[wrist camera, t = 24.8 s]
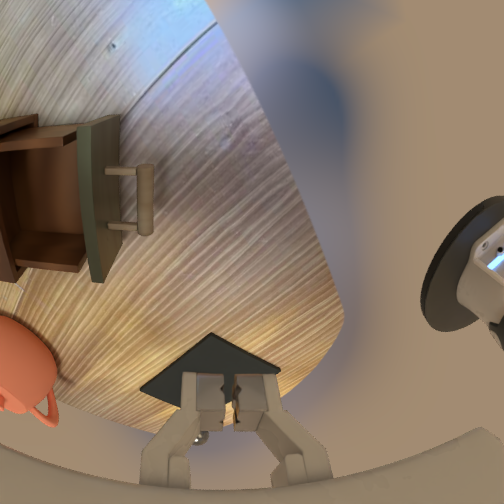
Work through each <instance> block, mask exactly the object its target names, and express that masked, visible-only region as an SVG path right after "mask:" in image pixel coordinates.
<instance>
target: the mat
mask: <svg viewBox="0 0 504 504" xmlns="http://www.w3.org/2000/svg"><path fill="white" fill-rule="evenodd" d="M183 372H196V373H211V374H223V375H224V389H223V393H224V394H225V404H227V403H229V402H231V401H232V386H233V385H234V376H235V374H275V375H276V374H278V373H279V372H281V369H280V368H278V367H276V366H274V365H272V364H270V363H268V362H266V361H264V360H262V359H260V358H258V357H256V356H254V355H252V354H250V353H248V352H246V351H245V350H243V349H241V348H239V347H237V346H235V345H233V344H231V343H229V342H228V341H226V340H224V339H222V338H220V337H218V336H217V335H215V334H213V333H210V334H208V335H207V336H206V337H205V338H203V339H202V340H201V341H200V342H199V343H197V344H196V345H195V346H194V347H192V348H191V349H190V350H188V351H187V352H186V353H185V354H183V355H182V356H181V357H180V358H178V359H177V360H176V361H175V362H173V363H172V364H171V365H169V366H168V367H167V368H166V369H164V370H163V371H162V372H160V373H159V374H158V375H157V376H155V377H154V378H153V379H151V380H150V381H149V382H147V383H146V384H145V385H144V386H142V387H141V388H140V391H141V392H144V393H146V394H148V395H150V396H153V397H155V398H157V399H160V400H162V401H165V402H167V403H170V404H172V405H175V406H177V407H180V408H181V388H182V374H183Z"/></svg>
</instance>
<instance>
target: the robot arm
mask: <svg viewBox="0 0 504 504" xmlns="http://www.w3.org/2000/svg"><path fill="white" fill-rule="evenodd" d="M457 300H458V302H459V303H460V304H461V305H463V306H464V307H466V308H468V309H469V310H470V311H472V312H473V313H474V314H475V315H476V316H478V317H479V318H480V319H481V320H482V321H483V322H484V323H485V324H486V325H487V326H488V327H489V330H490V333H491V335H492V336H493V338H494V339H495V340H496V342H497V343H498V345H499V346H500V348H502V349H503V350H504V218H503V219H502V220H500V221H499V222H498V223H497V224H496V225H495V226H493V227H492V228H491V229H490V230H489V231H488V232H486V233H485V234H484V235H483V236H481V237H480V238H479V239H478V240H477V241H475V243H474V244H473V246H472V248H471V252H470V256H469V261H468V263H467V265H466V267H465V269H464V271H463V273H462V275H461V277H460V280H459V283H458V287H457ZM223 389H224V375H223V374H211V373H196V372H183V374H182V388H181V409H180V410H176V411H175V412H174V413H173V415H172V416H171V417H170V418H169V419H168V421H167V422H166V423H165V424H164V425H163V427H162V428H161V429H160V430H159V431H158V433H157V434H156V435H155V436H154V437H153V438H152V440H151V441H150V442H149V443H148V444H147V446H146V447H145V448H144V449H143V450H142V454H141V467H140V482H139V484H134V483H128V482H123V481H117V480H112V479H107V478H102V477H98V476H94V475H90V474H85V473H82V472H78V471H74V470H71V469H67V468H64V467H61V466H57V465H54V464H51V463H48V462H45V461H42V460H40V459H37V458H34V457H32V456H29V455H26V454H23V453H21V452H19V451H16V450H14V449H12V448H9V447H7V446H5V445H3V444H1V443H0V504H504V445H503V443H502V442H501V440H500V439H499V438H498V437H496V436H495V435H494V434H492V433H491V432H489V431H488V430H486V429H484V428H482V427H478V428H475V429H473V430H471V431H469V432H467V433H465V434H463V435H461V436H459V437H457V438H455V439H453V440H451V441H448V442H446V443H444V444H441V445H439V446H437V447H434V448H432V449H430V450H427V451H424V452H422V453H419V454H417V455H414V456H411V457H408V458H406V459H403V460H400V461H397V462H394V463H391V464H387V465H385V466H381V467H378V468H375V469H371V470H367V471H363V472H359V473H355V474H351V475H347V476H342V477H338V478H333V475H332V471H331V467H330V463H329V459H328V455H327V451H326V448H324V446H323V445H321V444H320V443H319V442H318V441H317V440H316V439H315V438H314V437H313V436H312V435H311V434H310V433H309V432H308V431H307V430H306V429H305V428H304V427H303V426H302V425H301V424H300V423H299V422H298V421H297V420H296V419H295V418H294V417H293V416H292V415H291V414H290V413H289V412H288V411H287V410H283V409H282V403H281V398H280V393H279V388H278V383H277V378H276V375H275V374H235V376H234V385H233V386H232V408H233V409H234V414H233V424H234V431H256V433H257V435H258V436H259V437H260V439H261V440H262V441H263V442H264V444H265V445H266V446H267V447H268V449H269V450H270V451H271V452H272V453H273V455H274V456H275V457H276V458H277V460H278V461H279V462H280V464H279V465H278V466H277V467H276V469H275V470H274V471H273V472H272V473H271V474H270V475H271V483H272V488H260V489H243V490H197V489H191V475H190V466H189V460H188V459H187V458H186V457H185V454H186V453H187V451H188V450H189V448H190V447H191V445H192V444H193V442H194V441H195V439H196V438H197V436H198V435H199V433H200V431H222V429H223V420H224V418H225V411H226V410H225V394H224V393H223Z"/></svg>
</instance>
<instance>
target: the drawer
mask: <svg viewBox="0 0 504 504" xmlns="http://www.w3.org/2000/svg"><path fill="white" fill-rule="evenodd" d="M119 135H120V115H107V116H104V117H101V118H99V119H96V120H93V121H90V122H88V123H85V124H70V125H57V126H46V127H36V128H28V129H20V130H13V131H9V132H7V133H4V134H2V135H0V207H1V212H2V217H3V222H4V226H5V230H6V235H7V239H8V243H9V246H10V250H11V254H12V257H13V261H14V264H15V266H22V267H30V268H39V269H47V270H56V271H64V272H74V273H79V271H80V270H81V268H82V266H83V264H84V263H85V261H86V259H87V258H88V264H89V269H90V274H91V279H92V282H95V283H104V282H105V279H106V277H107V275H108V273H109V271H110V269H111V267H112V264H113V262H114V260H115V258H116V256H117V254H118V252H119V250H120V248H121V246H122V244H123V243H122V230H127V231H137V230H138V234H139V235H141V236H149V235H152V234H153V232H154V228H153V194H154V165H153V164H140V165H138V166H137V167H122V166H119ZM119 175H131V176H136V175H137V222H122V221H121V214H120V191H119Z"/></svg>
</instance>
